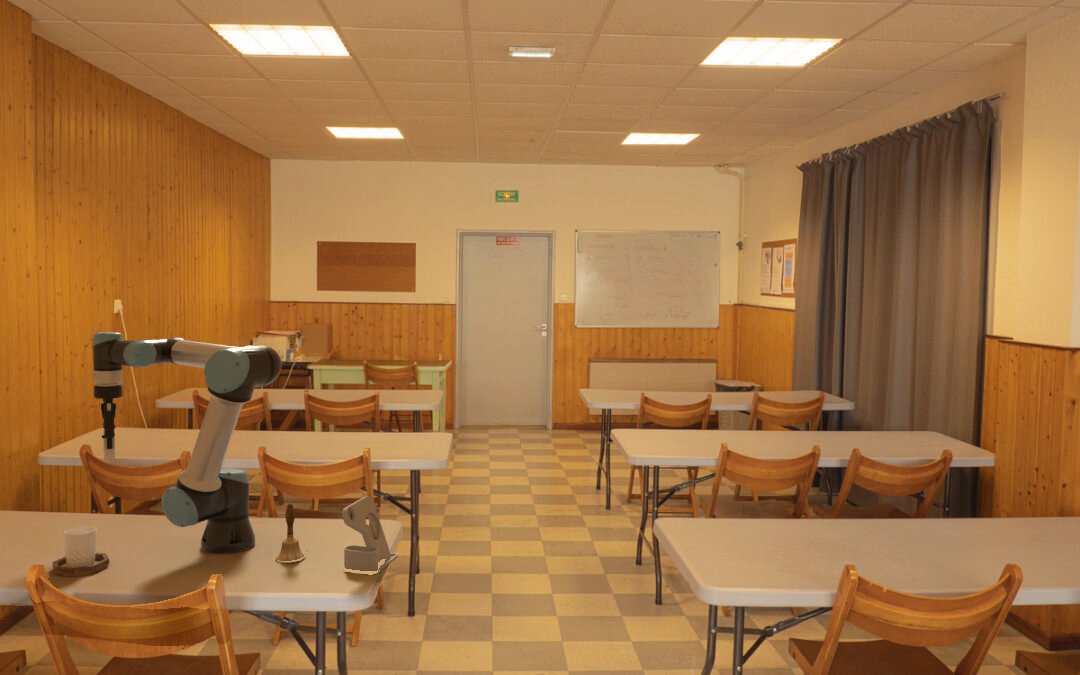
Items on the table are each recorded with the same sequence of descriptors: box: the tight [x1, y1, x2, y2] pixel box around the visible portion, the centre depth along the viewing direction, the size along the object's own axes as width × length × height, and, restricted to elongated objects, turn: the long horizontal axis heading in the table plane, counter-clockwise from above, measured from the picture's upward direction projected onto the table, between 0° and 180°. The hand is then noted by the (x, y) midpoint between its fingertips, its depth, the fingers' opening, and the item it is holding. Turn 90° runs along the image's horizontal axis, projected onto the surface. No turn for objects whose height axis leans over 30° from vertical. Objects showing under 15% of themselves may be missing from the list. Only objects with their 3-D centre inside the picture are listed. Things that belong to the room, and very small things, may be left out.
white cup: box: [63, 525, 98, 568], centre depth 223 cm, size 8×8×10 cm
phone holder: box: [341, 495, 399, 571], centre depth 232 cm, size 17×10×18 cm, turn 166°
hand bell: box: [275, 503, 305, 561], centre depth 235 cm, size 8×8×16 cm
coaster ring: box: [52, 552, 110, 577], centre depth 224 cm, size 13×13×2 cm
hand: (109, 455), depth 243 cm, fingers open, 13 cm apart
